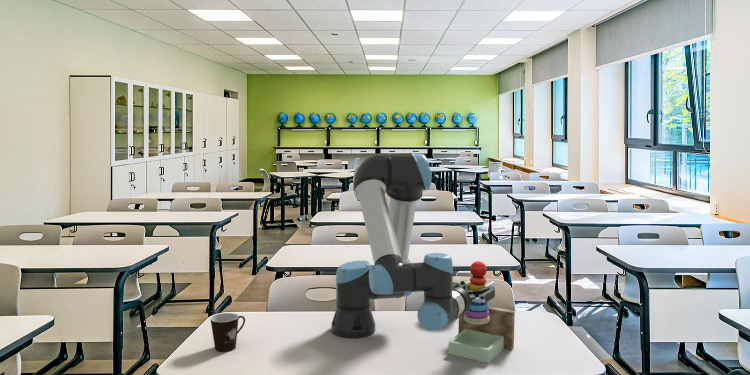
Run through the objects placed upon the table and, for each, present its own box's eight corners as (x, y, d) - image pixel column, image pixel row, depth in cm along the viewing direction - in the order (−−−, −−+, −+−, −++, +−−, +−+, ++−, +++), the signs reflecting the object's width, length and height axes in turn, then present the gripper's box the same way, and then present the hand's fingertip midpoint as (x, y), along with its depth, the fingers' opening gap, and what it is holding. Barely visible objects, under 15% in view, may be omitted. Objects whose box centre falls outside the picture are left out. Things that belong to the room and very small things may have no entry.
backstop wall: (458, 338, 188) (458, 303, 186) (460, 336, 189) (461, 301, 188) (511, 349, 178) (512, 312, 177) (513, 347, 180) (514, 310, 179)
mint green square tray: (448, 354, 175) (448, 341, 174) (464, 340, 186) (465, 328, 185) (489, 363, 168) (489, 350, 168) (503, 348, 179) (503, 336, 179)
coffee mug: (214, 355, 174) (213, 323, 173) (208, 345, 182) (207, 315, 181) (252, 348, 179) (251, 317, 178) (244, 339, 187) (244, 310, 186)
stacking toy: (484, 327, 171) (484, 265, 169) (459, 322, 175) (459, 262, 173) (493, 319, 177) (494, 260, 176) (469, 315, 182) (470, 257, 180)
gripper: (423, 310, 165) (456, 291, 185) (484, 321, 155) (512, 300, 175) (423, 285, 164) (456, 268, 184) (485, 295, 155) (512, 276, 174)
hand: (483, 284), depth 179 cm, fingers closed on stacking toy, 6 cm apart
